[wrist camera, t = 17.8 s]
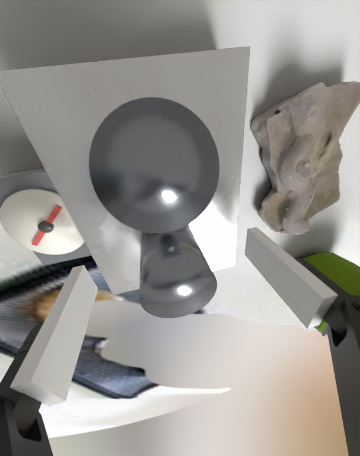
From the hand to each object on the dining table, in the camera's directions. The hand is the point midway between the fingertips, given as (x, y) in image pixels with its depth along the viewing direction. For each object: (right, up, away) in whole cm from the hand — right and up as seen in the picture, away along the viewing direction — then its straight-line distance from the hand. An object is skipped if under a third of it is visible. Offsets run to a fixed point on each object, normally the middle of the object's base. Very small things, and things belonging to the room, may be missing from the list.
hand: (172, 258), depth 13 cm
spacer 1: (-1, +7, -2) cm, 8 cm away
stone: (+13, +10, +6) cm, 18 cm away
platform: (-1, +5, +1) cm, 5 cm away
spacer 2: (-1, +1, +2) cm, 3 cm away
